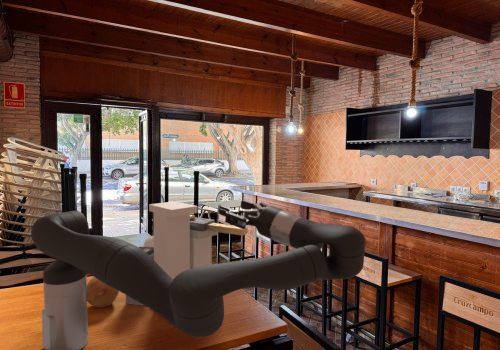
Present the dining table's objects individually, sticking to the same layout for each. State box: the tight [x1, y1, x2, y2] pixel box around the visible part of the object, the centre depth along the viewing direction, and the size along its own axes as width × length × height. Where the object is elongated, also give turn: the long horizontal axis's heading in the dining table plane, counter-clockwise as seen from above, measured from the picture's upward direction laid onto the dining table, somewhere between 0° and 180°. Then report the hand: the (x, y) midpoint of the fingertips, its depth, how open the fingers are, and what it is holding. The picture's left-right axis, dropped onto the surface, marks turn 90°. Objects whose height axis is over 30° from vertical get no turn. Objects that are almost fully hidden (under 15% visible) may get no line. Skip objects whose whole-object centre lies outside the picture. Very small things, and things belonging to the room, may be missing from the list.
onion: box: [86, 276, 120, 308], centre depth 105 cm, size 10×10×10 cm
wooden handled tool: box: [190, 214, 249, 236], centre depth 105 cm, size 6×22×4 cm, turn 64°
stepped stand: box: [148, 200, 219, 279], centre depth 106 cm, size 17×12×32 cm
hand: (231, 206), depth 90 cm, fingers open, 8 cm apart
